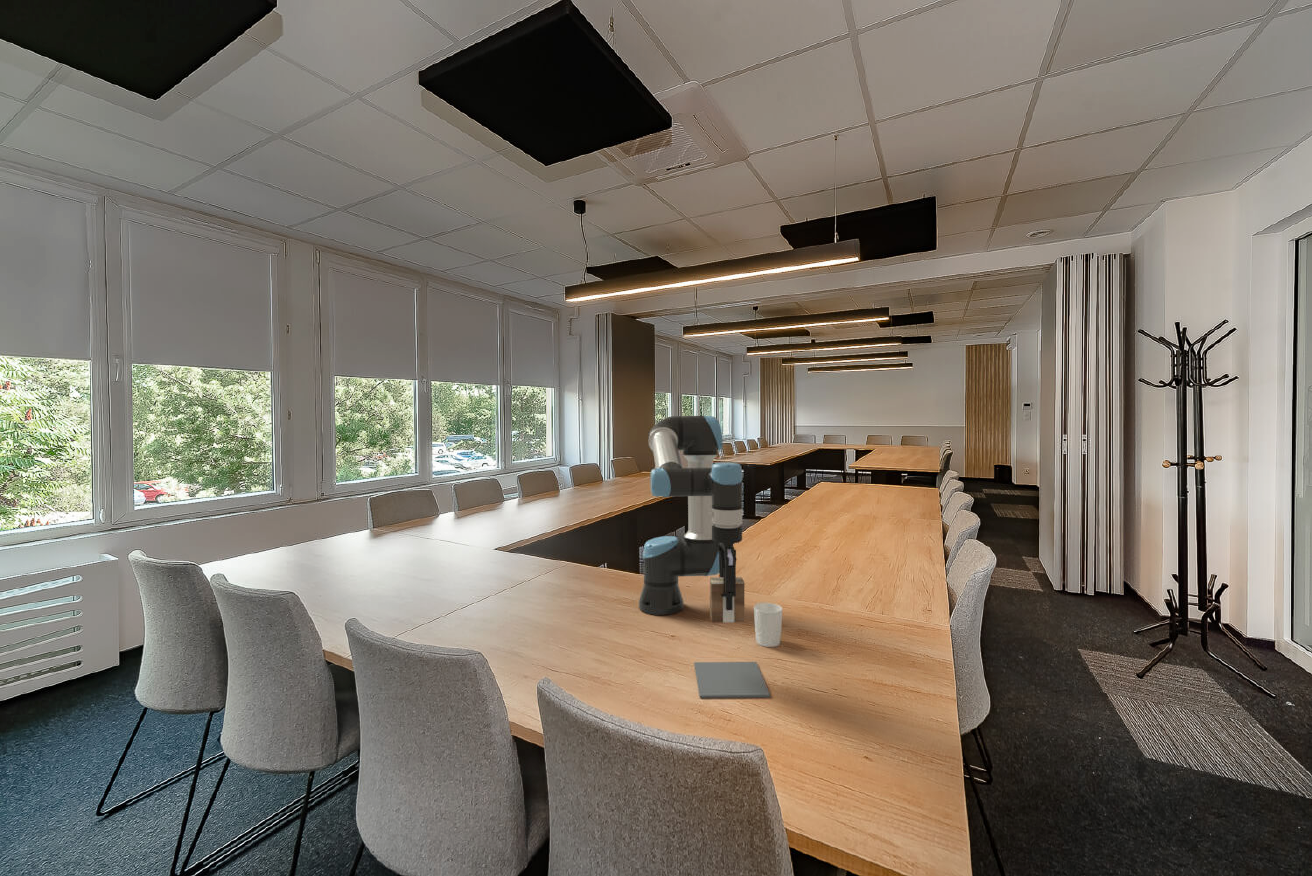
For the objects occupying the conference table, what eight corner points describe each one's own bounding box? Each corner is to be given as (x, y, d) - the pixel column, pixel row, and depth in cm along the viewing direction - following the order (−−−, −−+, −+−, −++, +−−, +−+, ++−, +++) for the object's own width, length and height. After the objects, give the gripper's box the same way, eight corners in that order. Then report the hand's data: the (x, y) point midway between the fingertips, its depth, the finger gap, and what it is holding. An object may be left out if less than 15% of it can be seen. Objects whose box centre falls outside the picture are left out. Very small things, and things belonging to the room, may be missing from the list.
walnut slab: (710, 616, 130) (710, 577, 129) (741, 616, 130) (741, 577, 129) (712, 622, 126) (711, 582, 125) (744, 622, 126) (744, 582, 125)
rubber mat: (694, 664, 132) (694, 662, 132) (756, 664, 132) (756, 661, 132) (699, 698, 116) (699, 695, 116) (770, 697, 116) (770, 695, 116)
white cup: (761, 650, 140) (761, 614, 140) (749, 638, 148) (749, 604, 148) (787, 646, 142) (787, 611, 142) (773, 635, 150) (773, 601, 150)
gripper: (708, 518, 135) (708, 605, 136) (715, 532, 118) (716, 632, 119) (736, 518, 135) (736, 605, 136) (748, 532, 118) (748, 632, 119)
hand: (727, 617), depth 128 cm, fingers closed on walnut slab, 4 cm apart
